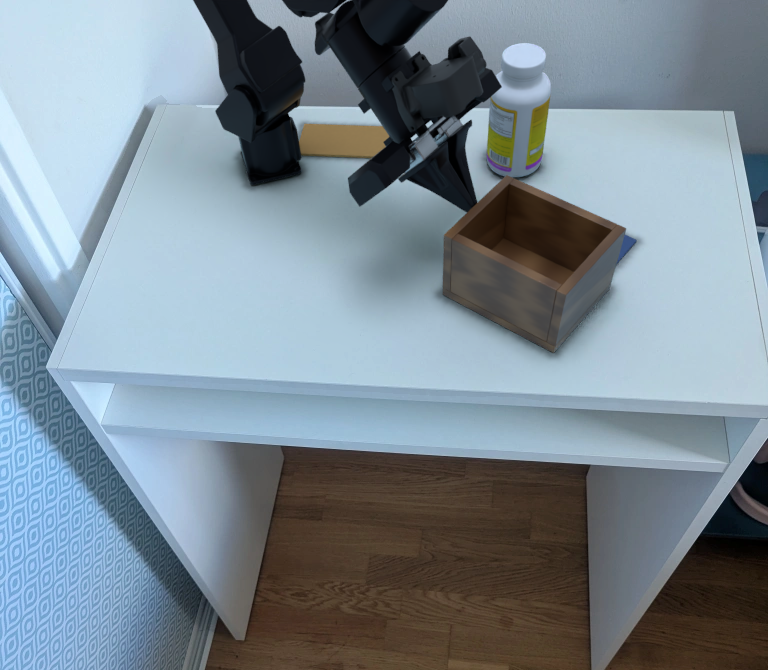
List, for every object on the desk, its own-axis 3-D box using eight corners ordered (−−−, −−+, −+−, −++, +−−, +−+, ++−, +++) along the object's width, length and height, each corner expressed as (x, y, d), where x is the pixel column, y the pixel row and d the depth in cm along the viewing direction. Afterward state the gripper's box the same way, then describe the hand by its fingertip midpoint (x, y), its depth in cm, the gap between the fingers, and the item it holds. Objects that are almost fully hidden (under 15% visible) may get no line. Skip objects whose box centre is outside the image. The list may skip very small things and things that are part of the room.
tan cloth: (295, 155, 95) (295, 153, 94) (304, 125, 98) (304, 123, 97) (391, 159, 93) (390, 156, 93) (397, 128, 96) (397, 126, 96)
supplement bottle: (538, 143, 93) (553, 35, 82) (543, 179, 90) (559, 71, 79) (484, 146, 94) (491, 38, 82) (487, 181, 90) (495, 74, 79)
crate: (442, 294, 82) (443, 234, 75) (500, 236, 86) (506, 174, 79) (553, 353, 77) (566, 295, 70) (609, 289, 81) (626, 228, 74)
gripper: (359, 75, 62) (467, 237, 67) (491, -27, 68) (579, 129, 74) (303, 133, 71) (401, 271, 77) (423, 39, 78) (505, 172, 83)
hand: (473, 209), depth 77 cm, fingers closed, pressing on crate
